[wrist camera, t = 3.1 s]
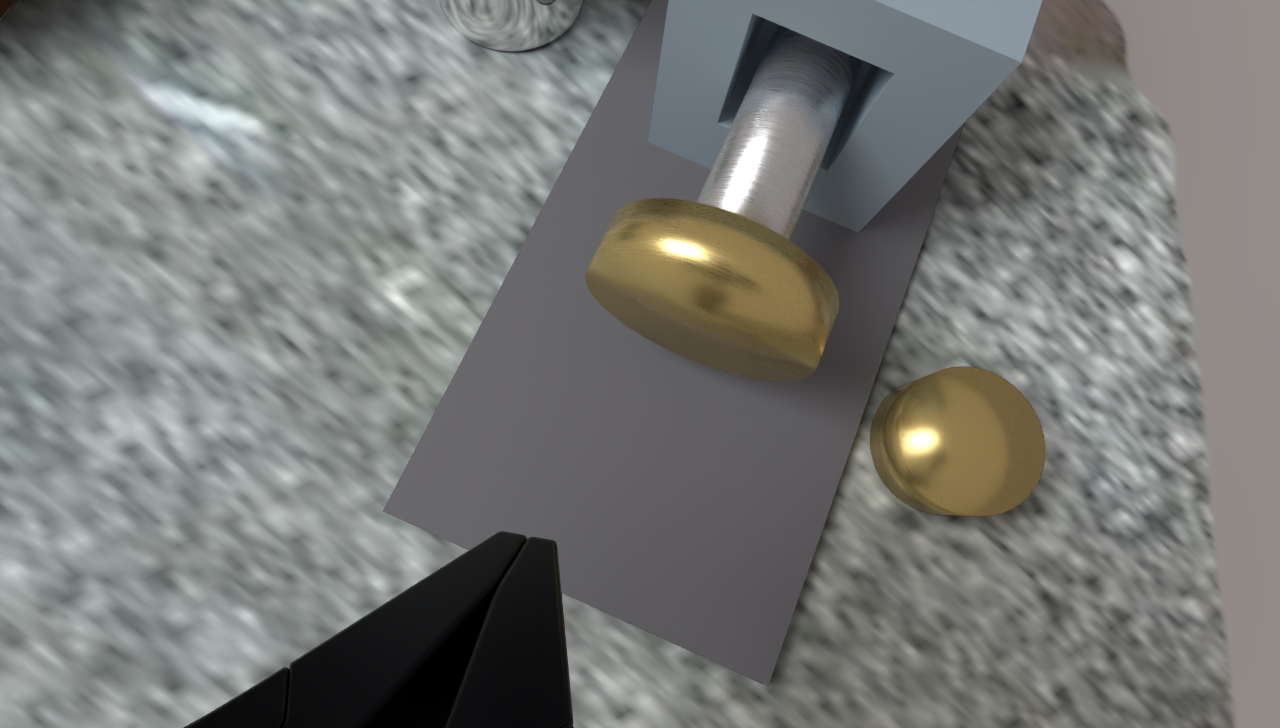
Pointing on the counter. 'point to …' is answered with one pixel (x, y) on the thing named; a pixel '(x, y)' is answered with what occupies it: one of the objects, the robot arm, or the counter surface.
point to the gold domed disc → (958, 443)
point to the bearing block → (879, 99)
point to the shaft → (739, 232)
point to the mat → (658, 407)
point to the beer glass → (511, 21)
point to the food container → (5, 6)
